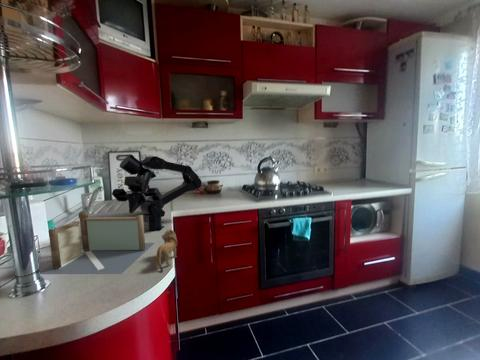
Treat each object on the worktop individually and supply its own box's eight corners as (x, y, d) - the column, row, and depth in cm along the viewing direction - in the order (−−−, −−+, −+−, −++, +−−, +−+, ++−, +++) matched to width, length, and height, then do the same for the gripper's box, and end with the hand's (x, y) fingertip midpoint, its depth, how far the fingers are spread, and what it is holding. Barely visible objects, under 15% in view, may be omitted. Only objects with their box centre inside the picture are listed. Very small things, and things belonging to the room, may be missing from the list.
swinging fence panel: (92, 248, 89) (89, 215, 88) (146, 247, 88) (143, 215, 86) (88, 250, 87) (85, 217, 86) (143, 250, 86) (141, 216, 84)
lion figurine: (163, 253, 84) (162, 228, 83) (179, 252, 85) (178, 227, 84) (153, 274, 70) (150, 244, 69) (172, 273, 70) (170, 242, 69)
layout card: (89, 244, 95) (89, 243, 95) (155, 243, 94) (154, 242, 94) (34, 275, 71) (34, 273, 71) (121, 274, 70) (121, 273, 70)
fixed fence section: (85, 249, 90) (81, 210, 88) (93, 248, 89) (89, 210, 88) (49, 269, 74) (44, 223, 72) (59, 269, 73) (54, 223, 72)
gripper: (112, 169, 99) (96, 201, 90) (156, 167, 98) (145, 200, 88) (124, 185, 108) (112, 216, 99) (165, 184, 106) (156, 216, 97)
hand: (130, 212), depth 95 cm, fingers closed
